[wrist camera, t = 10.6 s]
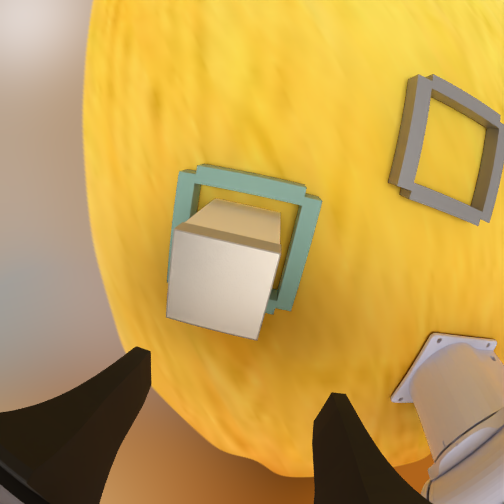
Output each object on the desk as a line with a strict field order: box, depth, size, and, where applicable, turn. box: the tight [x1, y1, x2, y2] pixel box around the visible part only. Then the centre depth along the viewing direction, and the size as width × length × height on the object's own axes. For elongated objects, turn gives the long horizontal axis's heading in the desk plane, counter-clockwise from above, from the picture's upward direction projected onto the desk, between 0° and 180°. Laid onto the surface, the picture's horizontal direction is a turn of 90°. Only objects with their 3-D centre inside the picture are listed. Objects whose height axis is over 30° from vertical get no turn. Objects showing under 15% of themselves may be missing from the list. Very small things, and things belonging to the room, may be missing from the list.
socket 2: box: [388, 74, 504, 226], centre depth 13 cm, size 8×8×2 cm
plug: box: [166, 198, 281, 340], centre depth 14 cm, size 4×4×7 cm
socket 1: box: [167, 164, 322, 314], centre depth 17 cm, size 8×8×2 cm
